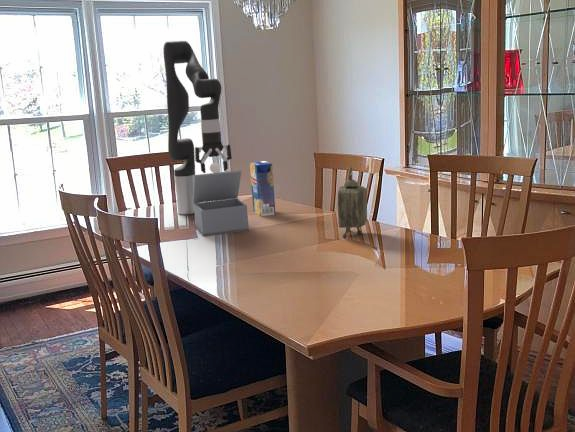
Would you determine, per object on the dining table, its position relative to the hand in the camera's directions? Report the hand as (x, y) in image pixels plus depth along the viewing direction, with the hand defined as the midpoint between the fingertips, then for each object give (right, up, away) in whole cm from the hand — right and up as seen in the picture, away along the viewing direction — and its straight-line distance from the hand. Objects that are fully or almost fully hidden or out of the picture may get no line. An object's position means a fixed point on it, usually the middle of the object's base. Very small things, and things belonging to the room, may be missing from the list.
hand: (214, 171), depth 259 cm
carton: (+3, -23, 0) cm, 23 cm away
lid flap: (+1, -6, 0) cm, 7 cm away
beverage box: (+19, -17, +25) cm, 35 cm away
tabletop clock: (+53, -25, -20) cm, 62 cm away
